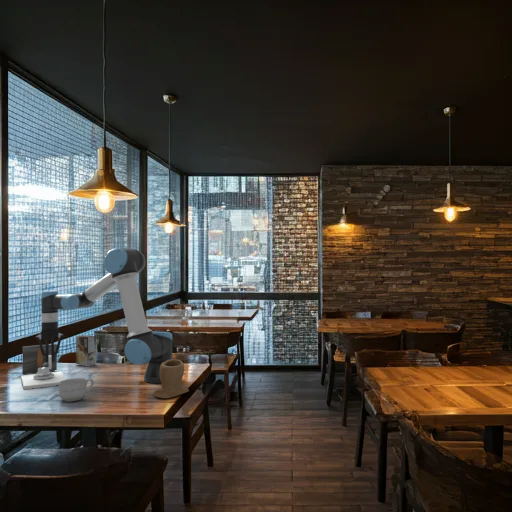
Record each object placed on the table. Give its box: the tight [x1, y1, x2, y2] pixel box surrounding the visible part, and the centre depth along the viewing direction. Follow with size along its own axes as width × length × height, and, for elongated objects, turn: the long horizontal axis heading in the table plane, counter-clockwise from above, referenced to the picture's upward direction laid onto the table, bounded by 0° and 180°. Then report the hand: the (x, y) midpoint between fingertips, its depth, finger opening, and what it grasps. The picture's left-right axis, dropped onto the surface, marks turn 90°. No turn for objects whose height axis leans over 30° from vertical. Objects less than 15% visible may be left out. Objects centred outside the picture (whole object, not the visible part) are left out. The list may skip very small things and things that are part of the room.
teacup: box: [58, 377, 95, 403], centre depth 186 cm, size 14×11×8 cm
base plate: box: [20, 371, 67, 390], centre depth 217 cm, size 25×18×2 cm
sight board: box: [21, 343, 58, 375], centre depth 235 cm, size 2×16×14 cm, turn 120°
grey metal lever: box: [33, 362, 54, 379], centre depth 222 cm, size 19×9×5 cm, turn 19°
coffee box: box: [75, 334, 97, 367], centre depth 255 cm, size 9×6×16 cm
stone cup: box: [153, 358, 190, 399], centre depth 191 cm, size 15×12×15 cm
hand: (49, 368), depth 227 cm, fingers closed
